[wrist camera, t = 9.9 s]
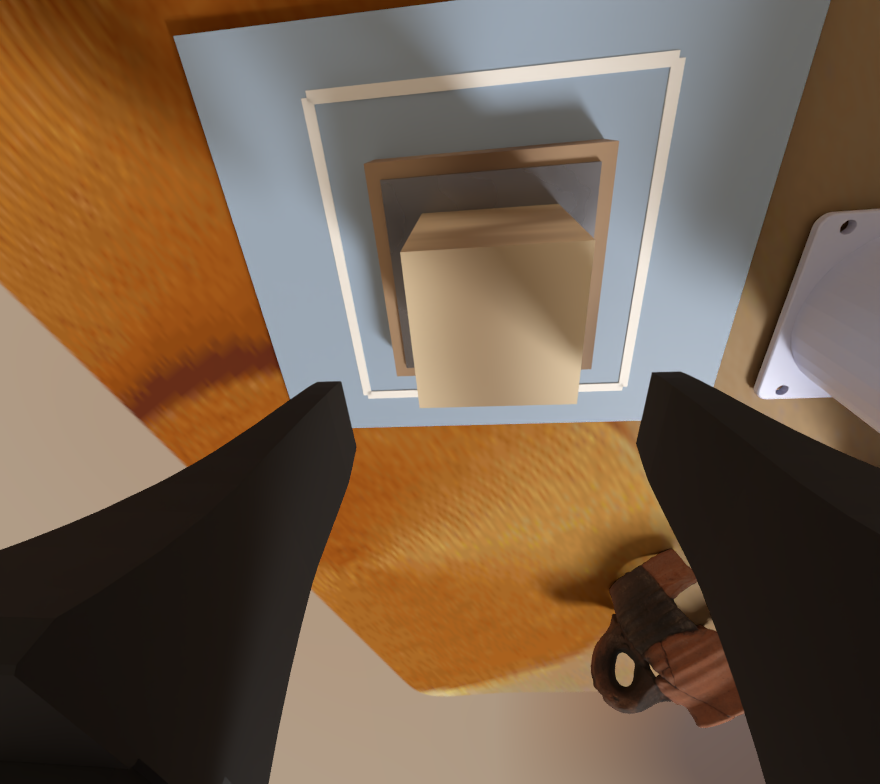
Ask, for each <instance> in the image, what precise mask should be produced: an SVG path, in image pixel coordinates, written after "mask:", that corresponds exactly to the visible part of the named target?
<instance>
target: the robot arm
mask: <svg viewBox="0 0 880 784" xmlns="http://www.w3.org/2000/svg"><path fill="white" fill-rule="evenodd" d="M848 220H849V223H848V226H847V227H846V229H844V230H843V231H841V232H840V227H841V226H842V224H843V223H845V222H846V221H848ZM782 385H783V386H782ZM780 386H782V387H781V388H780V389H779V390H776V389H777V388H778V387H780ZM754 392H755V394H756V395H757V396H758V397H760V398H761V399H790V398H824V397H833V398H834V399H836V400H837V401H838V402H840V403H841V404H842V405H844V406H845V407H846V408H847V409H849V410H850V411H851V412H853V413H854V414H855V415H857V416H858V417H859V418H860V419H862V420H863V421H864V422H866V423H867V424H868V425H869V426H871V427H872V428H873V429H875V430H876V431H877V432H879V433H880V209H866V210H852V211H837V212H830V213H826V214H824V215H822V216H821V217H819V218H818V219H817V220H816V221H815V223H814V225H813V227H812V229H811V232H810V234H809V237H808V240H807V243H806V245H805V248H804V251H803V254H802V256H801V259H800V262H799V265H798V267H797V270H796V273H795V276H794V278H793V281H792V284H791V287H790V289H789V292H788V295H787V298H786V300H785V303H784V306H783V309H782V311H781V314H780V317H779V320H778V322H777V325H776V328H775V331H774V333H773V336H772V339H771V342H770V344H769V347H768V350H767V353H766V355H765V358H764V361H763V364H762V366H761V369H760V372H759V375H758V377H757V380H756V383H755V386H754ZM636 444H637V448H638V451H639V454H640V457H641V461H642V464H643V467H644V470H645V473H646V476H647V479H648V481H649V483H650V486H651V488H652V490H653V492H654V494H655V496H656V498H657V500H658V502H659V504H660V506H661V508H662V510H663V512H664V514H665V516H666V518H667V520H668V522H669V524H670V526H671V528H672V530H673V532H674V534H675V536H676V538H677V540H678V542H679V544H680V546H681V548H682V550H683V552H684V554H685V556H686V558H687V560H688V562H689V564H690V566H691V568H692V570H693V573H694V575H695V577H696V579H697V582H698V584H699V586H700V588H701V591H702V593H703V596H704V599H705V601H706V604H707V607H708V609H709V612H710V615H711V617H712V620H713V623H714V625H715V628H716V631H717V633H718V636H719V639H720V642H721V645H722V647H723V650H724V653H725V656H726V659H727V662H728V665H729V668H730V671H731V673H732V676H733V679H734V682H735V685H736V688H737V691H738V694H739V697H740V700H741V704H742V707H743V710H744V713H745V716H746V719H747V723H748V726H749V729H750V732H751V735H752V738H753V741H754V745H755V748H756V751H757V754H758V758H759V761H760V765H761V768H762V772H763V775H764V779H765V782H766V784H880V468H878V467H875V466H873V465H870V464H868V463H866V462H863V461H861V460H858V459H856V458H853V457H851V456H849V455H847V454H844V453H842V452H840V451H838V450H835V449H833V448H831V447H829V446H827V445H825V444H823V443H820V442H818V441H816V440H814V439H812V438H810V437H808V436H806V435H804V434H802V433H800V432H797V431H795V430H793V429H791V428H789V427H787V426H785V425H783V424H781V423H780V422H778V421H776V420H774V419H772V418H770V417H768V416H766V415H764V414H762V413H760V412H758V411H757V410H755V409H753V408H751V407H749V406H747V405H745V404H743V403H742V402H740V401H738V400H736V399H734V398H732V397H730V396H729V395H727V394H725V393H723V392H721V391H719V390H718V389H716V388H714V387H712V386H710V385H708V384H706V383H704V382H702V381H700V380H698V379H696V378H694V377H692V376H690V375H688V374H686V373H683V372H681V371H678V372H652V374H651V379H650V383H649V388H648V392H647V397H646V401H645V406H644V410H643V415H642V419H641V424H640V428H639V433H638V437H637V442H636ZM355 452H356V443H355V439H354V434H353V430H352V425H351V421H350V417H349V412H348V408H347V404H346V399H345V395H344V390H343V386H342V382H341V381H326V382H316V383H314V384H312V385H311V386H309V387H307V388H306V389H304V390H303V391H302V392H300V393H299V394H297V395H296V396H294V397H293V398H292V399H290V400H289V401H287V402H286V403H285V404H283V405H282V406H281V407H279V408H278V409H276V410H275V411H274V412H272V413H271V414H269V415H268V416H267V417H265V418H264V419H262V420H261V421H260V422H258V423H257V424H255V425H254V426H252V427H251V428H249V429H248V430H246V431H245V432H243V433H242V434H240V435H239V436H237V437H236V438H234V439H233V440H231V441H230V442H228V443H227V444H225V445H224V446H222V447H220V448H219V449H217V450H216V451H214V452H213V453H211V454H209V455H208V456H206V457H204V458H203V459H201V460H199V461H198V462H196V463H194V464H192V465H191V466H189V467H187V468H185V469H183V470H182V471H180V472H178V473H176V474H174V475H173V476H171V477H169V478H167V479H165V480H163V481H161V482H159V483H157V484H155V485H153V486H151V487H149V488H147V489H145V490H143V491H141V492H139V493H137V494H134V495H132V496H130V497H128V498H126V499H124V500H122V501H120V502H117V503H115V504H113V505H111V506H109V507H107V508H105V509H102V510H100V511H98V512H96V513H93V514H91V515H89V516H86V517H84V518H82V519H80V520H77V521H74V522H72V523H70V524H67V525H65V526H62V527H60V528H57V529H55V530H52V531H50V532H47V533H45V534H42V535H39V536H37V537H34V538H32V539H29V540H26V541H24V542H21V543H19V544H16V545H13V546H10V547H8V548H5V549H2V550H0V784H268V783H269V778H270V772H271V767H272V761H273V756H274V751H275V745H276V740H277V734H278V729H279V724H280V720H281V715H282V710H283V705H284V700H285V696H286V691H287V686H288V681H289V677H290V672H291V668H292V664H293V659H294V655H295V651H296V647H297V642H298V638H299V633H300V630H301V625H302V621H303V618H304V613H305V610H306V606H307V602H308V598H309V594H310V591H311V587H312V583H313V580H314V577H315V574H316V571H317V567H318V564H319V562H320V559H321V556H322V554H323V551H324V548H325V545H326V543H327V540H328V537H329V535H330V532H331V529H332V527H333V524H334V521H335V519H336V516H337V513H338V511H339V508H340V505H341V503H342V500H343V497H344V494H345V492H346V489H347V486H348V483H349V479H350V475H351V471H352V466H353V461H354V456H355Z"/></svg>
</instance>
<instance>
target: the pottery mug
mask: <svg viewBox="0 0 880 784" xmlns="http://www.w3.org/2000/svg"><path fill="white" fill-rule="evenodd" d="M696 582H697V579H696V577H695V575H694V573H693V570H692V569H691V568H690V567H688V566H687V565H686V564H685V563H684V561H683V560H682V559H681V558H680V557H679V555H678V554H677V553H676V552H675V551H674V550H673V549H668V550H666V551H665V552H661V553H659V554H658V555H656V556H654V557H652V558H650V559H649V560H648V561H647V562H645V563H643V564H642V565H640V566H638V567H637V568H635V569H634V570H632V571H631V572H627V573H626V574H625V575H624V576H622V577H621V578H619V579H618V580H617V581H616V582H615V583H614V584H613V585H612V586H611V588H610V590H609V592H610V595H611V597H612V601H613V605H614V610H615V613H616V614H613V615H612V619H611V624H610V626H609V628H608V630H607V631H606V633H605V634H604V635H603V636H602V637H601V638H600V640H599V641H598V642H597V644H596V646H595V648H594V651H593V655H592V663H591V674H592V678H593V685H594V687H595V688H596V689H597V690H598V691H599V693H600V694H602V696H603V699H604V701H605V702H606V703H607V704H608V705H609V706H611V707H612V708H614V709H615V710H617V711H619V712H622V713H638V712H642V711H644V710H646V709H648V708H649V707H651V706H653V705H654V704H657V703H659V702H664V701H669V702H671V701H672V702H674V703H676V704H677V705H683V706H685V707H686V708H687V709H688V711H689V712H690V714H691V715H692V717H693V718H694V720H695V722H696V725H697V726H698V727H700V728H708V727H711V726H716V725H719V724H722V723H725V722H727V721H730V720H732V719H734V718H735V716H739V715H742V714H744V710H743V707H742V704H741V700H740V697H739V694H738V691H737V688H736V685H735V682H734V679H733V676H732V673H731V671H730V668H729V665H728V662H727V659H726V656H725V653H724V650H723V647H722V645H721V642H720V639H719V636H718V633H717V632H716V631H714V630H710V629H707V628H705V627H704V626H702V625H698V626H696V625H695V624H694V623H693V622H692V621H691V620H689V619H688V617H686V616H685V614H684V613H683V612H682V611H681V610H680V609H679V608H678V607H677V605H676V604H675V602H674V598H676V597H677V596H678V594H679V593H680V592H682V591H684V590H685V589H686V588H688V587H689V586H690V585H692V584H695V583H696ZM621 652H624V653H626V654H627V655H628V656H629V657H630V658H631V659H632V660H633V661H634V663H635V669H634V678H633V682H632V684H631V685H630V686H628V687H624V686H621V685H620V684H619V683H618V681H617V680H616V676H615V663H616V659H617V656H618V654H619V653H621ZM649 664H650V665H651V666H652V668H653V669H654V670H655V671H656V672H657V673H659V675H658V676H657V677H655V675H654V674H653V672H652V670H651V669H650V666H649Z"/></svg>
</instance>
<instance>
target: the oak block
mask: <svg viewBox="0 0 880 784" xmlns="http://www.w3.org/2000/svg"><path fill="white" fill-rule="evenodd" d="M594 248H595V239H594V238H593V237H592V236H591V235H590V234H589V233H588V232H587V231H586V230H585V229H584V228H583V227H582V226H581V225H580V224H579V223H578V222H577V221H576V220H575V219H574V218H573V217H572V216H571V215H570V214H569V213H568V212H567V211H566V210H565V209H564V208H562V207H561V206H560V205H559V204H548V205H534V206H520V207H506V208H492V209H478V210H464V211H450V212H436V213H422V214H421V216H420V218H419V220H418V221H417V223H416V225H415V227H414V228H413V230H412V232H411V234H410V236H409V237H408V239H407V241H406V243H405V244H404V246H403V248H402V250H401V252H400V255H401V263H402V271H403V279H404V287H405V295H406V303H407V311H408V319H409V327H410V335H411V343H412V351H413V359H414V367H415V375H416V383H417V391H418V399H419V407H420V408H447V407H485V406H524V405H563V404H577V399H578V390H579V381H580V372H581V364H582V355H583V346H584V337H585V328H586V319H587V310H588V301H589V293H590V284H591V275H592V266H593V257H594Z"/></svg>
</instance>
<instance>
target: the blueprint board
mask: <svg viewBox="0 0 880 784" xmlns="http://www.w3.org/2000/svg"><path fill="white" fill-rule="evenodd" d="M830 1H831V0H455V1H447V2H439V3H431V4H423V5H415V6H407V7H399V8H391V9H384V10H376V11H368V12H360V13H352V14H344V15H336V16H328V17H320V18H313V19H305V20H297V21H289V22H281V23H273V24H265V25H257V26H249V27H242V28H234V29H226V30H218V31H210V32H202V33H194V34H186V35H178V36H173V37H174V40H175V43H176V46H177V49H178V53H179V56H180V59H181V62H182V65H183V68H184V71H185V74H186V77H187V80H188V84H189V87H190V90H191V93H192V96H193V99H194V102H195V105H196V108H197V111H198V115H199V118H200V121H201V124H202V127H203V130H204V133H205V136H206V139H207V142H208V146H209V149H210V152H211V155H212V158H213V161H214V164H215V167H216V170H217V173H218V177H219V180H220V183H221V186H222V189H223V192H224V195H225V198H226V201H227V204H228V208H229V211H230V214H231V217H232V220H233V223H234V226H235V229H236V232H237V235H238V239H239V242H240V245H241V248H242V251H243V254H244V257H245V260H246V263H247V266H248V270H249V273H250V276H251V279H252V282H253V285H254V288H255V291H256V294H257V297H258V301H259V304H260V307H261V310H262V313H263V316H264V319H265V322H266V325H267V328H268V332H269V335H270V338H271V341H272V344H273V347H274V350H275V353H276V356H277V359H278V363H279V366H280V369H281V372H282V375H283V378H284V381H285V384H286V387H287V390H288V394H289V397H290V399H292V398H293V397H294V396H296V395H297V394H299V393H300V392H302V391H303V390H304V389H306V388H307V387H309V386H311V385H312V384H314V383H316V382H326V381H341V382H342V386H343V390H344V395H345V399H346V404H347V408H348V412H349V417H350V421H351V425H352V428H367V427H407V426H446V425H485V424H525V423H564V422H603V421H641V419H642V415H643V410H644V406H645V401H646V397H647V392H648V388H649V383H650V379H651V374H652V372H678V371H681V372H683V373H686V374H688V375H690V376H692V377H694V378H696V379H698V380H700V381H702V382H704V383H706V384H708V385H710V386H712V387H713V386H714V383H715V379H716V376H717V373H718V369H719V366H720V363H721V360H722V356H723V353H724V350H725V346H726V343H727V340H728V337H729V333H730V330H731V327H732V323H733V320H734V317H735V314H736V310H737V307H738V304H739V300H740V297H741V294H742V291H743V287H744V284H745V281H746V277H747V274H748V271H749V268H750V264H751V261H752V258H753V254H754V251H755V248H756V245H757V241H758V238H759V235H760V231H761V228H762V225H763V222H764V218H765V215H766V212H767V208H768V205H769V202H770V199H771V195H772V192H773V189H774V185H775V182H776V179H777V176H778V172H779V169H780V166H781V162H782V159H783V156H784V153H785V149H786V146H787V143H788V139H789V136H790V133H791V130H792V126H793V123H794V120H795V116H796V113H797V110H798V107H799V103H800V100H801V97H802V93H803V90H804V87H805V84H806V80H807V77H808V74H809V70H810V67H811V64H812V60H813V57H814V54H815V51H816V47H817V44H818V41H819V37H820V34H821V31H822V28H823V24H824V21H825V18H826V14H827V11H828V8H829V5H830ZM548 204H559V205H560V206H561V207H562V208H564V209H565V210H566V211H567V212H568V213H569V214H570V215H571V216H572V217H573V218H574V219H575V220H576V221H577V222H578V223H579V224H580V225H581V226H582V227H583V228H584V229H585V230H586V231H587V232H588V233H589V234H590V235H591V236H592V237H593V238H594V239H595V248H594V257H593V266H592V275H591V284H590V293H589V301H588V310H587V319H586V328H585V337H584V346H583V355H582V364H581V372H580V381H579V390H578V399H577V404H563V405H524V406H485V407H447V408H420V407H419V399H418V391H417V383H416V375H415V367H414V359H413V351H412V343H411V335H410V327H409V319H408V311H407V303H406V295H405V287H404V279H403V271H402V263H401V255H400V252H401V250H402V248H403V246H404V244H405V243H406V241H407V239H408V237H409V236H410V234H411V232H412V230H413V228H414V227H415V225H416V223H417V221H418V220H419V218H420V216H421V214H422V213H436V212H450V211H464V210H478V209H492V208H506V207H520V206H534V205H548Z"/></svg>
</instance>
